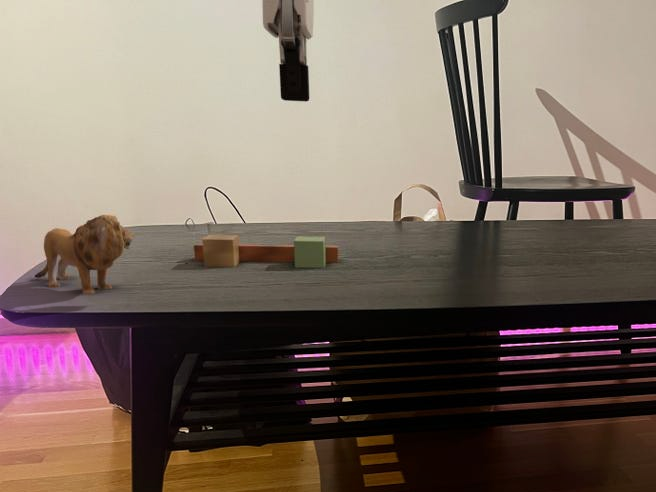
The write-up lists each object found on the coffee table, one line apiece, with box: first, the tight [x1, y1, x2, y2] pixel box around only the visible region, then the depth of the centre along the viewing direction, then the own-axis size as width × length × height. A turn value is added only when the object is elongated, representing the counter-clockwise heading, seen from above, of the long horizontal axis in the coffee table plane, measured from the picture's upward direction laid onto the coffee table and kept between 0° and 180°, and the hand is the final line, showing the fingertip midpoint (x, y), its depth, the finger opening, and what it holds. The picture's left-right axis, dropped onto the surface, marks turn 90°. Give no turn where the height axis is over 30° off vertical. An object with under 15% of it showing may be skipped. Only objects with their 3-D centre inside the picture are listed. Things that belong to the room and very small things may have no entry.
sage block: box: [293, 235, 327, 269], centre depth 99 cm, size 4×4×4 cm
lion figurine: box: [34, 214, 135, 295], centre depth 81 cm, size 15×5×9 cm, turn 70°
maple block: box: [201, 234, 241, 268], centre depth 98 cm, size 4×4×4 cm
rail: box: [193, 243, 340, 264], centre depth 101 cm, size 20×1×2 cm, turn 98°
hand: (295, 100), depth 84 cm, fingers closed
